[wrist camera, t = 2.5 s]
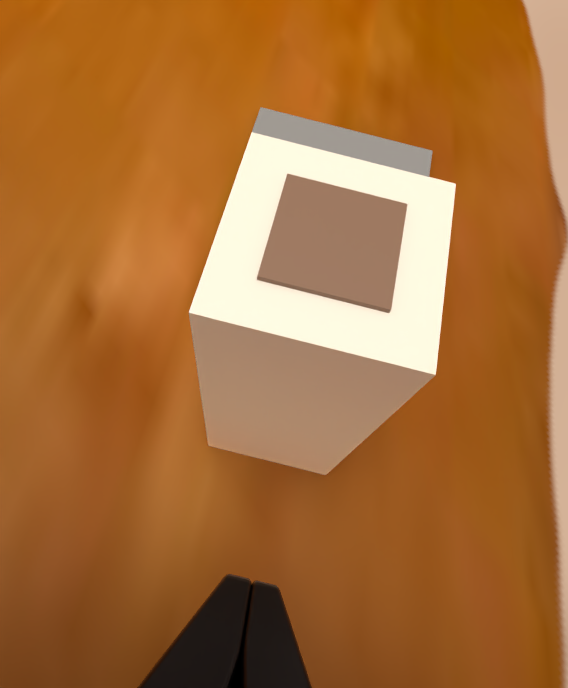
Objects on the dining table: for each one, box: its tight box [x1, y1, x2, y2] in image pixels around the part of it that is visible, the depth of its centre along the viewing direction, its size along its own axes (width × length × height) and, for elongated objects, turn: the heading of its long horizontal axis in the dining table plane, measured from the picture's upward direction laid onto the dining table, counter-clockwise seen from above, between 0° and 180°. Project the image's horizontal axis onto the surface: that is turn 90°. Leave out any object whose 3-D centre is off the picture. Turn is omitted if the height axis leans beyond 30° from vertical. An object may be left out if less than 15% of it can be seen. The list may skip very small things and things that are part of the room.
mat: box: [252, 107, 432, 177], centre depth 26 cm, size 13×10×1 cm
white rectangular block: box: [189, 132, 456, 475], centre depth 16 cm, size 5×5×12 cm
